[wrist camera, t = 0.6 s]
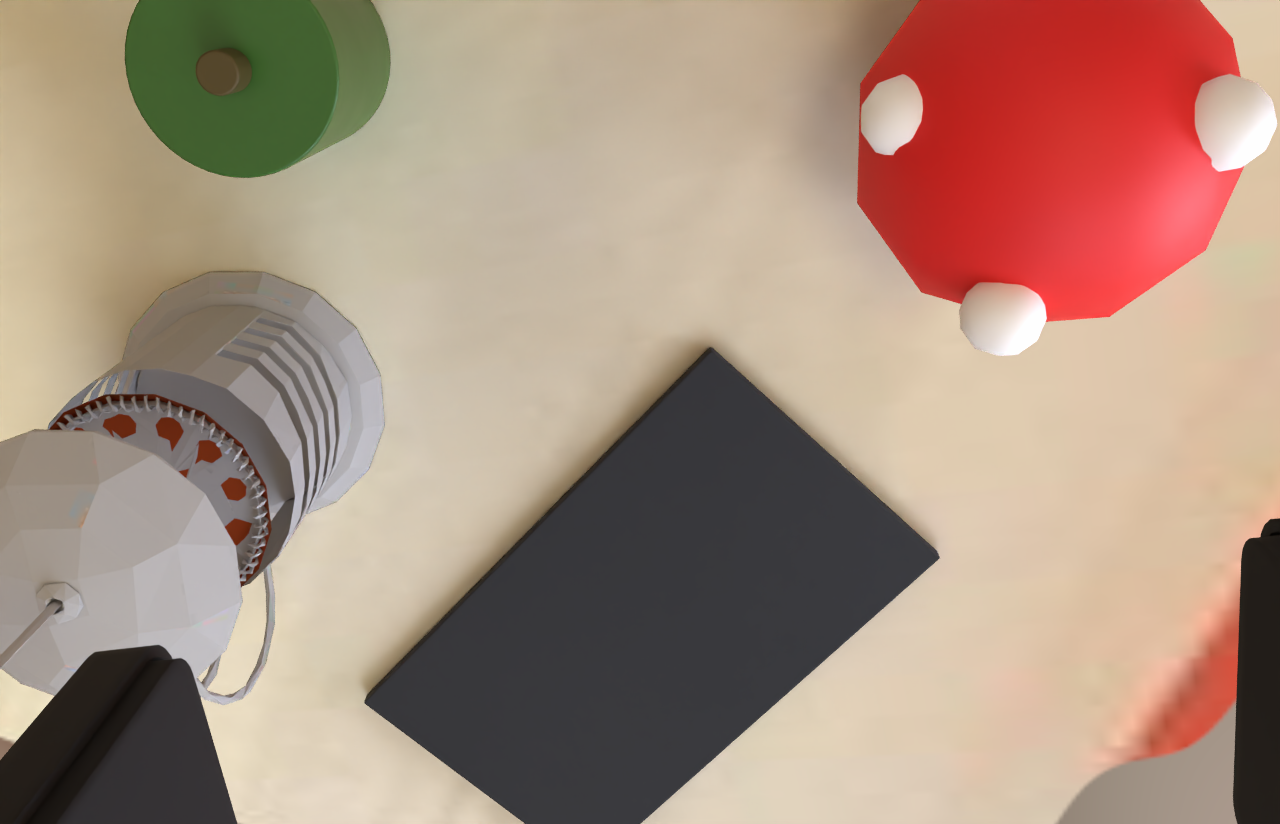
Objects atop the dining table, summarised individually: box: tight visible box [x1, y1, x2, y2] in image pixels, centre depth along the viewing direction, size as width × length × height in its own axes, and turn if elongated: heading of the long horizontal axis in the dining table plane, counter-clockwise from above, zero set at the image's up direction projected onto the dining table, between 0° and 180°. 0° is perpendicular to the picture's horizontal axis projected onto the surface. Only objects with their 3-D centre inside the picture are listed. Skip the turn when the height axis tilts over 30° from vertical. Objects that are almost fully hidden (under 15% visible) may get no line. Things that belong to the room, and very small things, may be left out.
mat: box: [364, 347, 940, 824], centre depth 47 cm, size 12×20×1 cm, turn 137°
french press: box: [0, 272, 385, 705], centre depth 33 cm, size 10×12×25 cm
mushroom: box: [857, 0, 1277, 356], centre depth 35 cm, size 11×11×12 cm
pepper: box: [125, 0, 390, 178], centre depth 36 cm, size 6×6×8 cm
